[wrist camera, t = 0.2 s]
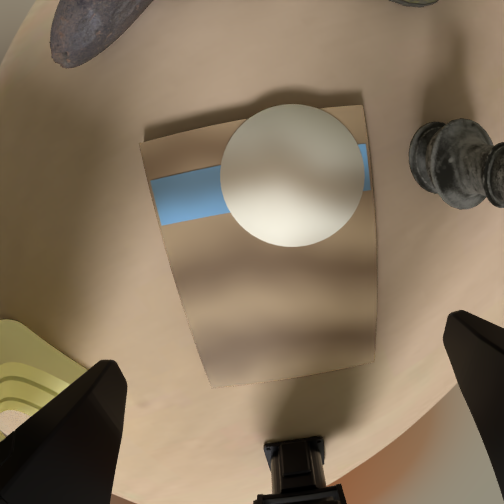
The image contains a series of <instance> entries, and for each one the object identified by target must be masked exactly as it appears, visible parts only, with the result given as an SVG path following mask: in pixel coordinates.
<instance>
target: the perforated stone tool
mask: <svg viewBox="0 0 504 504" xmlns="http://www.w3.org/2000/svg"><path fill="white" fill-rule="evenodd" d="M152 1H153V0H60V2H59V4H58V7H57V9H56V12H55V16H54V19H53V23H52V27H51V35H50V36H51V37H50V38H51V39H50V41H51V42H49V43H50V47H51V52H52V58H53V59H54V61H55V63H58V64H60V65H61V66H62V67H63V68H73V67H77V66H80V65H82V64H84V63H86V62H87V61H89V60H91V59H92V58H94V57H95V56H96V55H98V54H99V53H101V52H102V51H103V50H105V49H106V48H107V47H108V46H109V45H110V44H112V43H113V42H114V41H115V40H116V39H117V38H118V37H119V36H120V35H122V34H123V33H124V32H125V31H126V29H127V28H128V27H129V26H130V25H131V24H132V23H133V22H134V21H135V20H136V19H137V18H138V16H139V15H140V14H141V13H142V12H143V11H144V10H145V9H146V7H147V6H148V5H149V4H150V3H151V2H152Z"/></svg>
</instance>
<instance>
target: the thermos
mask: <svg viewBox="0 0 504 504" xmlns="http://www.w3.org/2000/svg"><path fill="white" fill-rule="evenodd" d="M390 1H393V2H396V3H399V4H402V5H404V6H412V7H424V6H428V5H431V4H434V3H436V2H437V1H438V0H390Z"/></svg>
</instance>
